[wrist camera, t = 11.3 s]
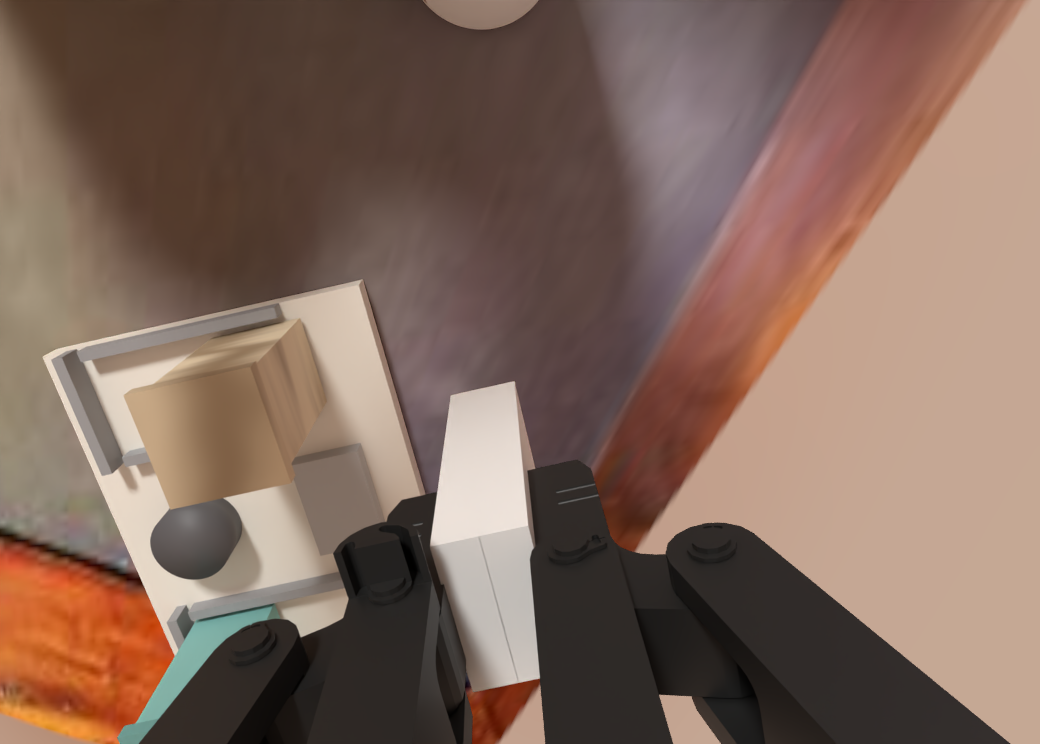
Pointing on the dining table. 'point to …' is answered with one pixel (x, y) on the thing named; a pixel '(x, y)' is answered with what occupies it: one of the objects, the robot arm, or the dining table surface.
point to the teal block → (192, 663)
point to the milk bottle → (480, 12)
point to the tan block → (230, 414)
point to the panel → (259, 514)
